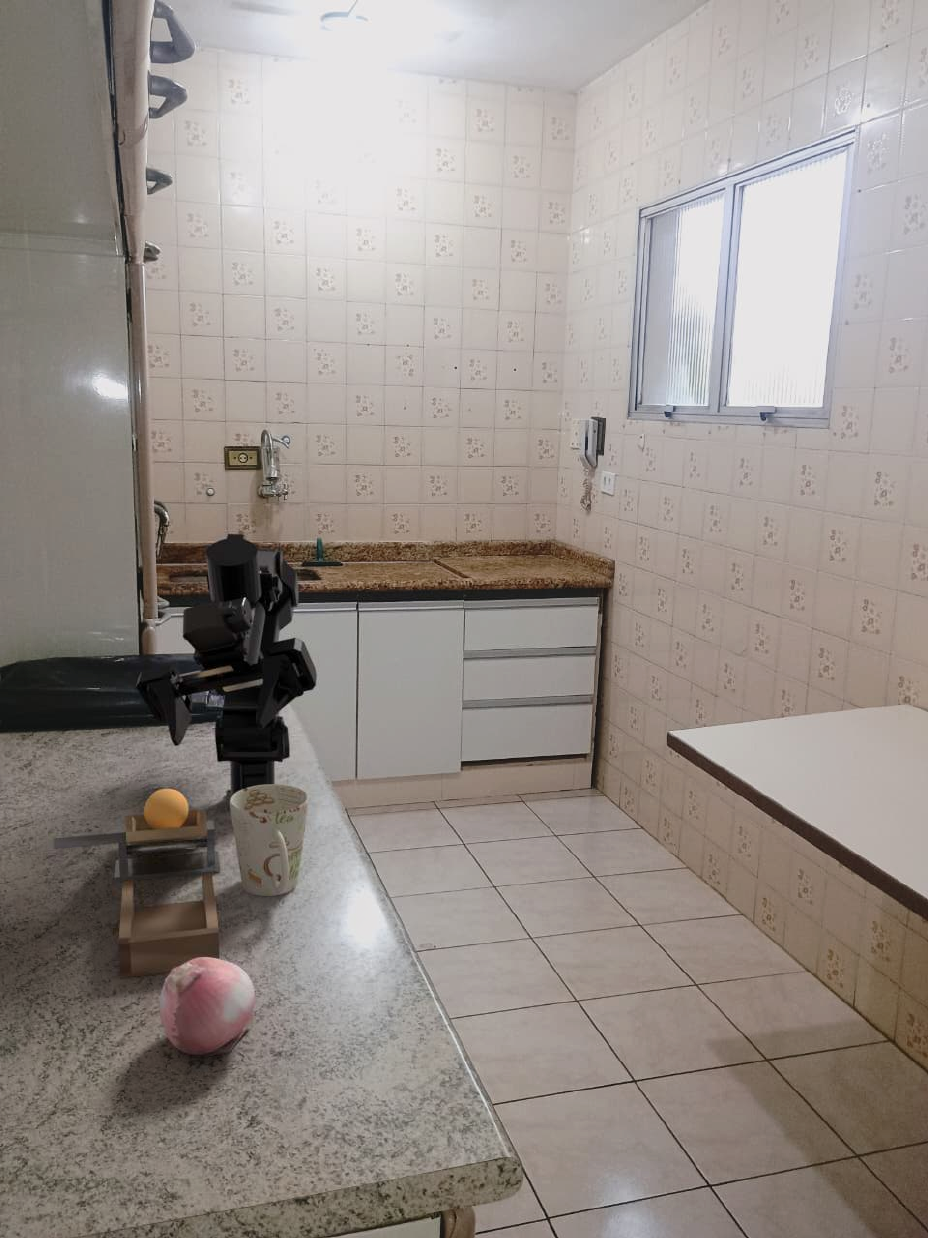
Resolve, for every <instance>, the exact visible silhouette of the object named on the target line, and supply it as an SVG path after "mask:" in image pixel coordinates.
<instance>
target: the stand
mask: <svg viewBox="0 0 928 1238" xmlns="http://www.w3.org/2000/svg"><path fill="white" fill-rule="evenodd" d="M214 824H215V823H214V820H206V835H205V836H206V837H205V838H204V837H203V838H202V839H191V840H180V841H169V842H158V843H147V844H136V845H131V844H130V845H129V844H128V843H117V847H118V859H116V860H115V868H114V877H113V878H114V880H113V881H114V884H115V883H123V881H133V882H135V881H136V882H137V881H146V880H155V879H165V878H175V877H186V876H195V875H202V873H212V874H214V873H221V863H220V855H219V850H216V846H215V845H216V844H215V843H216V842H215V825H214ZM121 832H126V827H124V828H118V832H117V833H121ZM201 848H204V849H205V848H206V851H202V852H199V851H198V852H190V853H188V852H187V853H181V854H180V853H179V854H171V855H169V854H168V855H158V856H148V857H147V856H146V857H138V858H129V857H128V856H129V855H137V854H139V855H140V854H147V853H159V852H160V853H161V852H168V851H169V852H170V851H179V850H189V849H201Z"/></svg>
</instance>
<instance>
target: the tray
mask: <svg viewBox="0 0 928 1238" xmlns="http://www.w3.org/2000/svg"><path fill="white" fill-rule="evenodd" d="M201 884H202V885H201V886H202V887H201V888H202V889H201V891H202V899H201V900H192V901H184V902H183V901H182V902H173V903H164V904H153V905H145V906H136V907H135V893H134V881H123V882H122V890H121V902H120V903H121V904H120V905H121V906H120V917H119V918H120V919H119V931H118V932H119V933H118V967H119V979H126V978H127V977H128V978H134V976H135V977H141V976H142V975H143V976H149V975H148V974H151V975H157V974H158V973H159V974H166V973H170V972H171V971H172V970H173V969H174V968H176V967H179V966H180V965H183V964H184V963H186V962H188V961H190V960H192V959H195V958H199V957H209V958H216V959H220V932H219V929H220V928H219V921H218V913H217V906H216V905H217V903H216V896H215V889H214V880H213V873H202V874H201Z"/></svg>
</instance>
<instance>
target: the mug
mask: <svg viewBox="0 0 928 1238" xmlns="http://www.w3.org/2000/svg"><path fill="white" fill-rule="evenodd" d="M308 810H309V795H308V794H307V792H306V791H304V789H301V788H299V787H296V786H292V785H289V784H288V785H287V784H276V783H275V784H267V785H258V786H253V787H248V788H245V789H242V790H240V791H238V792H236V793H235V794H234V795H233V796H232V797H231V799H230V810H229V811H230V817H231V823H232V829H233V836H234V837H233V838H234V842H235V850H236V854H237V855H236V856H237V861H238V867H239V868H238V869H239V875H240V881H241V886H242V889H243V890H244V891H245V892H247V893H248V894H251V895H254V896H260V897H274V896H280V895H284V894H287V893H289V892H291V891H292V890H294V889H295V888H296V887H297V885H298V883H299V876H300V869H301V864H302V863H301V862H302V855H303V854H302V853H303V848H304V847H303V846H304V841H305V831H306V825H307V817H308Z"/></svg>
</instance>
